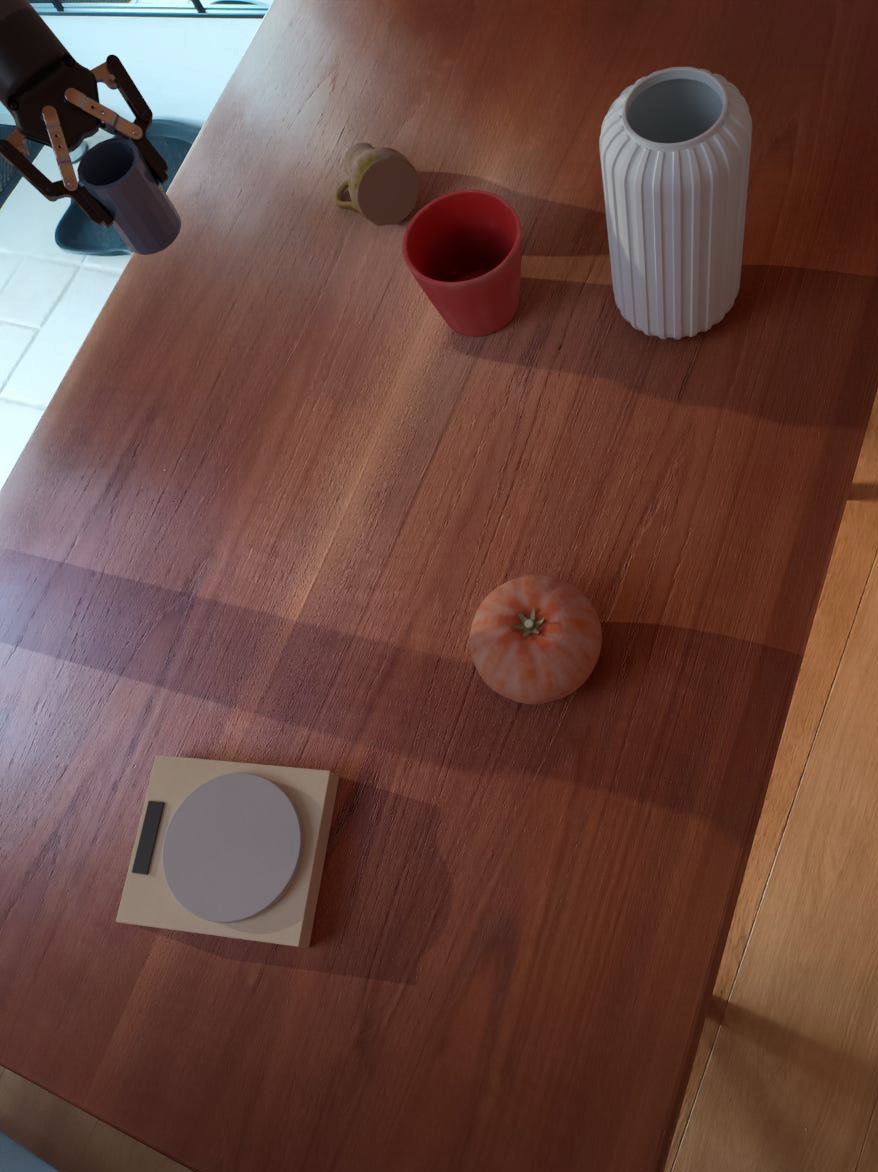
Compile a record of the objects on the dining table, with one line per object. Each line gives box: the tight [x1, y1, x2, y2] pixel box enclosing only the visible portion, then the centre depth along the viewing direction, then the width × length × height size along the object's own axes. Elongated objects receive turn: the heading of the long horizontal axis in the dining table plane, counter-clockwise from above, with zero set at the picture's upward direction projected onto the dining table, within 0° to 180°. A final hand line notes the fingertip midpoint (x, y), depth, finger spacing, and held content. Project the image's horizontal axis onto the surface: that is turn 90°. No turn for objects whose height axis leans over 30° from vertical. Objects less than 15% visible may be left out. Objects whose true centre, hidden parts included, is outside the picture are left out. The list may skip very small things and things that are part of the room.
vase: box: [598, 65, 753, 341], centre depth 83 cm, size 12×12×22 cm
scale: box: [115, 754, 340, 949], centre depth 82 cm, size 16×14×3 cm
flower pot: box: [401, 189, 523, 338], centre depth 93 cm, size 11×11×10 cm
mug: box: [333, 142, 421, 227], centre depth 102 cm, size 8×10×10 cm
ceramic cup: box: [76, 137, 182, 256], centre depth 94 cm, size 6×6×8 cm
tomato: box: [468, 574, 603, 705], centre depth 80 cm, size 11×11×8 cm
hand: (137, 202), depth 93 cm, fingers closed on ceramic cup, 6 cm apart
